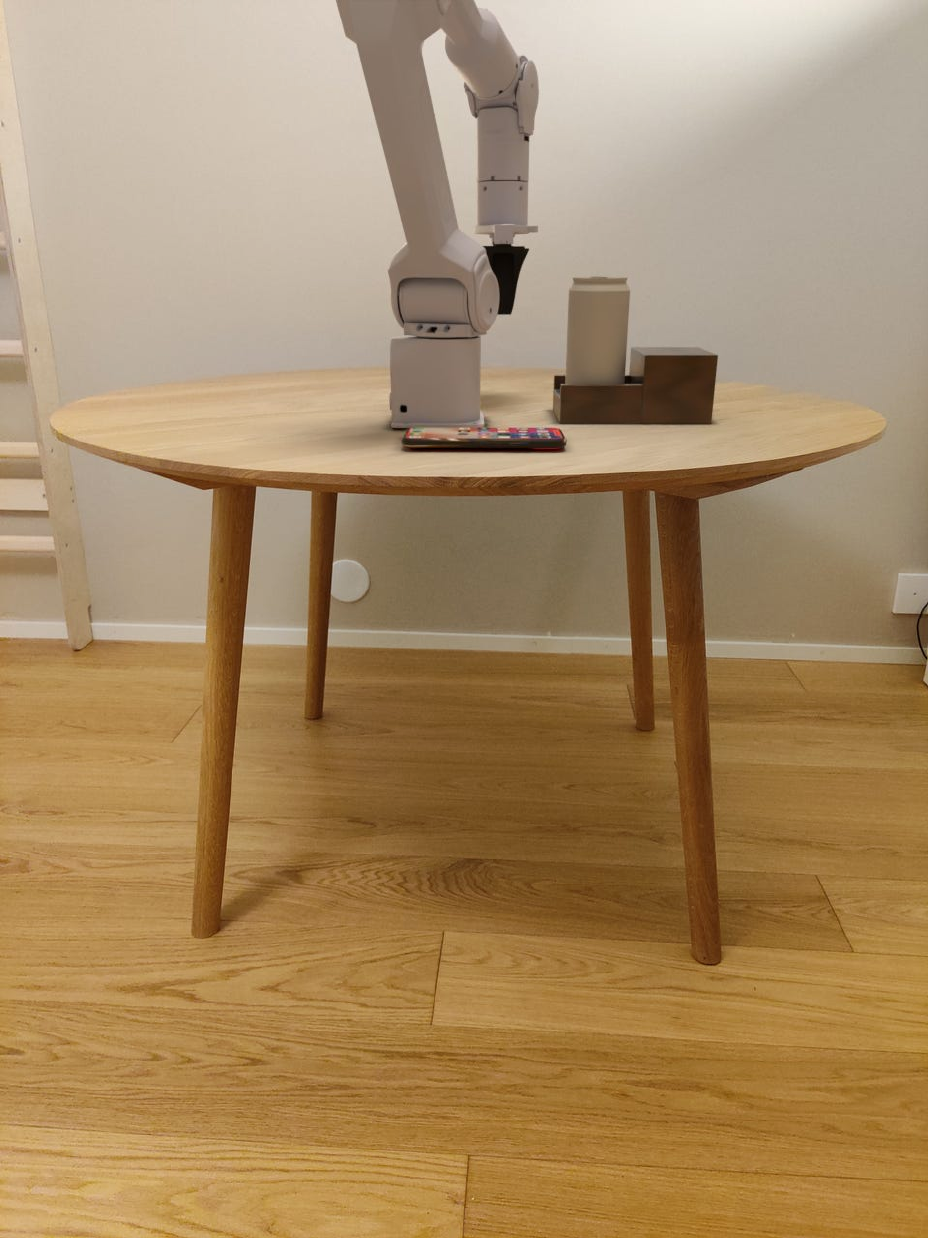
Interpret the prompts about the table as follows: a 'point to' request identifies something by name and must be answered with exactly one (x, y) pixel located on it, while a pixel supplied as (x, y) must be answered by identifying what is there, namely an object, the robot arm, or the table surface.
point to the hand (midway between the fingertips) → (500, 312)
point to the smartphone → (483, 437)
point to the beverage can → (597, 330)
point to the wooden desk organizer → (645, 391)
